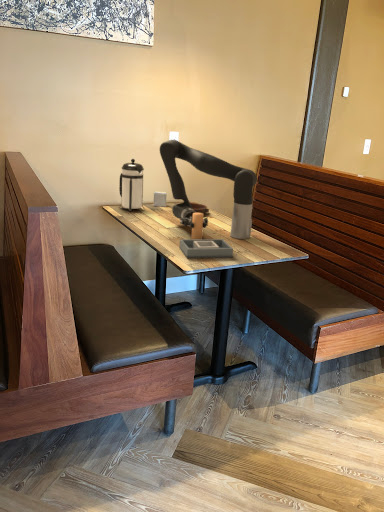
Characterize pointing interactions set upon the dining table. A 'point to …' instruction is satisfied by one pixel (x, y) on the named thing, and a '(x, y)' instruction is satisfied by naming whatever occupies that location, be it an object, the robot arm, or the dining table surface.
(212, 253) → the walled box
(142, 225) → the dining table surface
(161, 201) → the medicine box
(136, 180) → the coffee press
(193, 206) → the dish
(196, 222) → the rounded orange object
